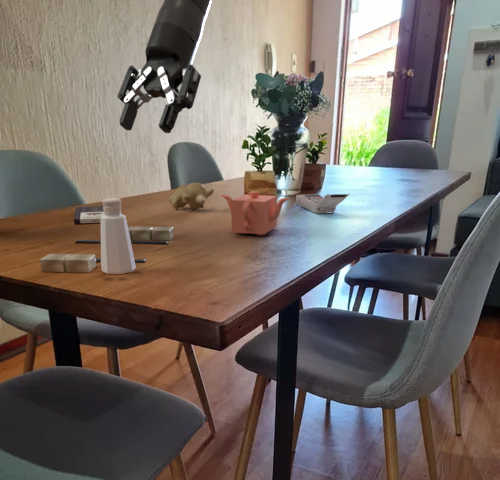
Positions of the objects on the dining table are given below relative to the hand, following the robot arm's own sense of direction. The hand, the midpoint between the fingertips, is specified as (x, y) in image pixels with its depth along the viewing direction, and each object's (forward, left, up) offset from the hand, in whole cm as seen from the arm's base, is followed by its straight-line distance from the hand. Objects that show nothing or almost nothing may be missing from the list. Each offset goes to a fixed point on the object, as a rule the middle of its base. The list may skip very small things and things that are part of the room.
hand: (144, 129), depth 82 cm
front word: (-8, -8, -21) cm, 23 cm away
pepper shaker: (-3, -10, -21) cm, 23 cm away
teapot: (+17, +20, -21) cm, 33 cm away
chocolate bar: (-23, +36, -21) cm, 48 cm away
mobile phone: (+32, +48, -21) cm, 61 cm away
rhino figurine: (-1, +47, -21) cm, 52 cm away
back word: (-8, +12, -21) cm, 25 cm away
